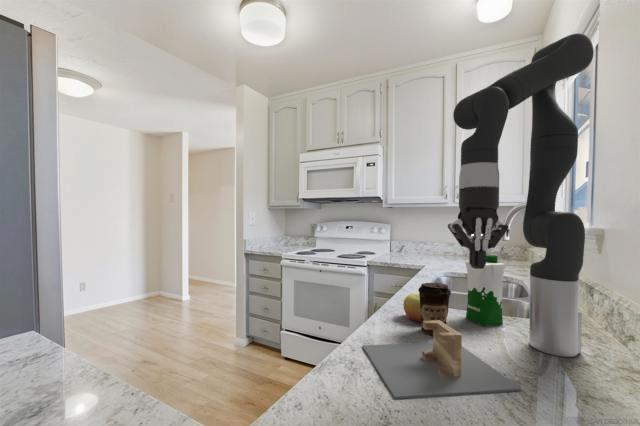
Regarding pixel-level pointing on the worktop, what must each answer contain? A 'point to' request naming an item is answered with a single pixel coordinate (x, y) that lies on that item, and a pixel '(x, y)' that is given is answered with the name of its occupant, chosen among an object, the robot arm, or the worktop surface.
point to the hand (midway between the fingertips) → (477, 268)
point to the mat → (432, 372)
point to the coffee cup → (434, 303)
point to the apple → (413, 307)
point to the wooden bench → (444, 348)
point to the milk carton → (485, 292)
